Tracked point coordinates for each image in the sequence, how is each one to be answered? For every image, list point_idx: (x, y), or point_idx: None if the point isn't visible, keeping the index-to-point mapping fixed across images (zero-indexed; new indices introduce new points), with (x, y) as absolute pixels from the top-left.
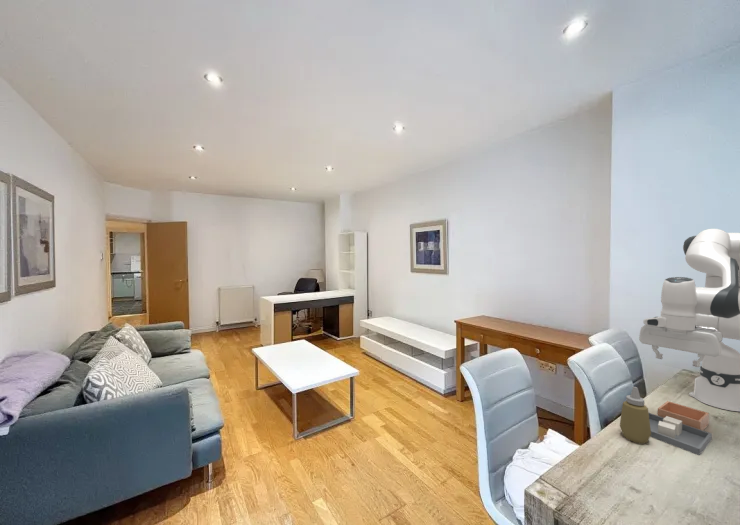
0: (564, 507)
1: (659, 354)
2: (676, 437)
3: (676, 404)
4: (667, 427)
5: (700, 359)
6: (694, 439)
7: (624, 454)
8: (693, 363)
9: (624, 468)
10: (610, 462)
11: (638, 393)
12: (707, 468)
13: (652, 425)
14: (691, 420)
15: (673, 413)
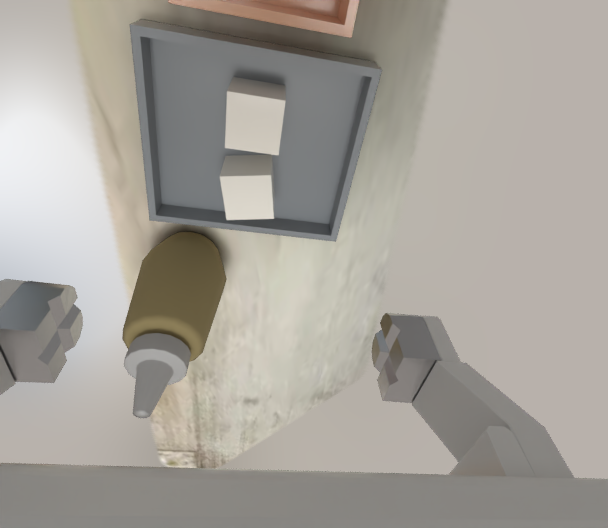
0: (203, 464)
1: (36, 379)
2: (275, 156)
3: None
4: (253, 217)
5: (460, 446)
6: (323, 122)
7: None
8: (383, 375)
9: (221, 369)
10: (197, 369)
11: (161, 393)
12: (345, 267)
13: (192, 110)
14: (316, 29)
15: (242, 16)
